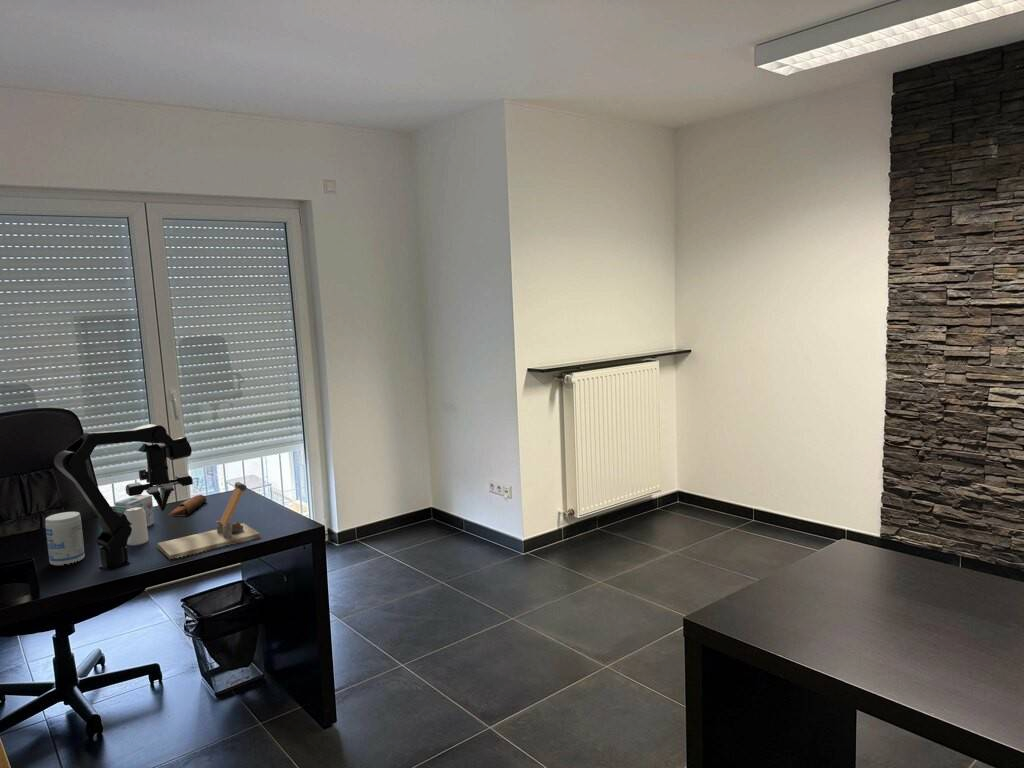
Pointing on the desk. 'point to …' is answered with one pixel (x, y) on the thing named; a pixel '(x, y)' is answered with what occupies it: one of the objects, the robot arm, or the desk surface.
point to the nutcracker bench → (208, 540)
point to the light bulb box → (138, 501)
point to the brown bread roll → (188, 505)
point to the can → (137, 525)
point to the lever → (232, 503)
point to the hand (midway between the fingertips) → (162, 510)
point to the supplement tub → (64, 538)
